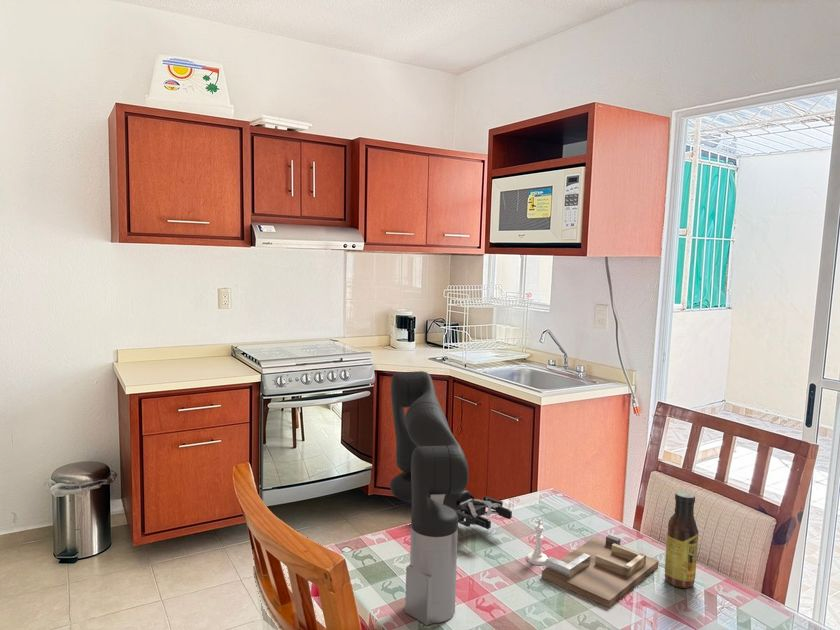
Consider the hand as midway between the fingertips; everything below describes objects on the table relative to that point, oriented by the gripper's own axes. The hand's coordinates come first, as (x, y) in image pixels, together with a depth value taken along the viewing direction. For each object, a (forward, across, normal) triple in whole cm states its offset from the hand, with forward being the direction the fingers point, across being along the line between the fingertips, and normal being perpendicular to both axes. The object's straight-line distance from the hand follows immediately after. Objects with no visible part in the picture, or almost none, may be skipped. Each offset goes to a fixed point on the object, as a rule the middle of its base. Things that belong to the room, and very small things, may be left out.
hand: (500, 519), depth 148 cm
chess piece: (+11, 0, +6) cm, 13 cm away
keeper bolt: (+19, 0, +4) cm, 19 cm away
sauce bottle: (+38, +15, +6) cm, 41 cm away
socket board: (+24, +6, +6) cm, 25 cm away
